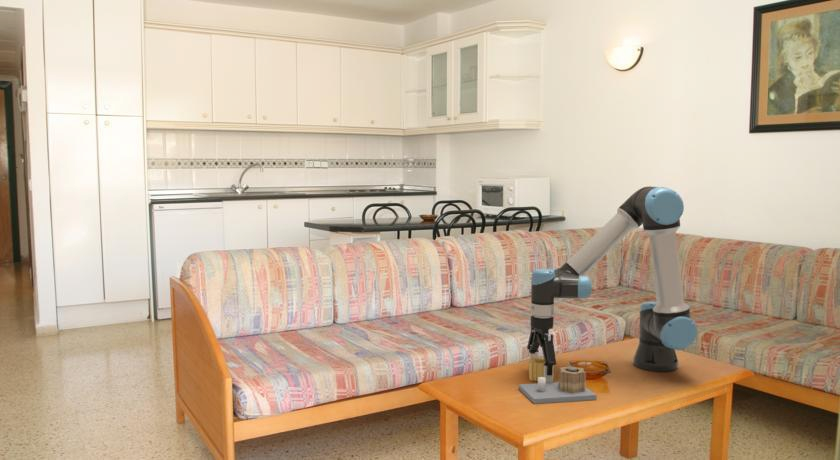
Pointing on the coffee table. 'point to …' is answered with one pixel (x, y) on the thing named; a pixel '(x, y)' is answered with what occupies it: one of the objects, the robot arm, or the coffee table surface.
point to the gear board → (553, 392)
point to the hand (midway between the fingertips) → (540, 378)
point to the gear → (572, 380)
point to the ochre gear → (537, 368)
